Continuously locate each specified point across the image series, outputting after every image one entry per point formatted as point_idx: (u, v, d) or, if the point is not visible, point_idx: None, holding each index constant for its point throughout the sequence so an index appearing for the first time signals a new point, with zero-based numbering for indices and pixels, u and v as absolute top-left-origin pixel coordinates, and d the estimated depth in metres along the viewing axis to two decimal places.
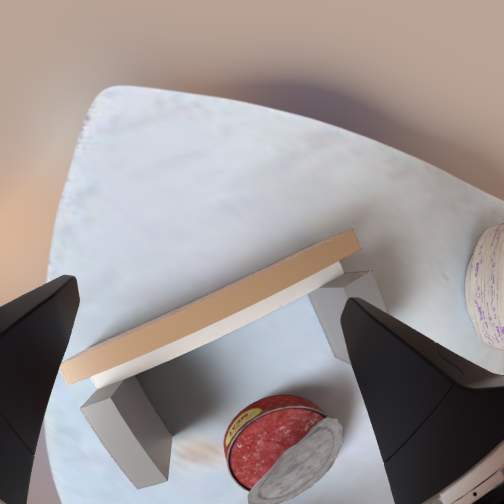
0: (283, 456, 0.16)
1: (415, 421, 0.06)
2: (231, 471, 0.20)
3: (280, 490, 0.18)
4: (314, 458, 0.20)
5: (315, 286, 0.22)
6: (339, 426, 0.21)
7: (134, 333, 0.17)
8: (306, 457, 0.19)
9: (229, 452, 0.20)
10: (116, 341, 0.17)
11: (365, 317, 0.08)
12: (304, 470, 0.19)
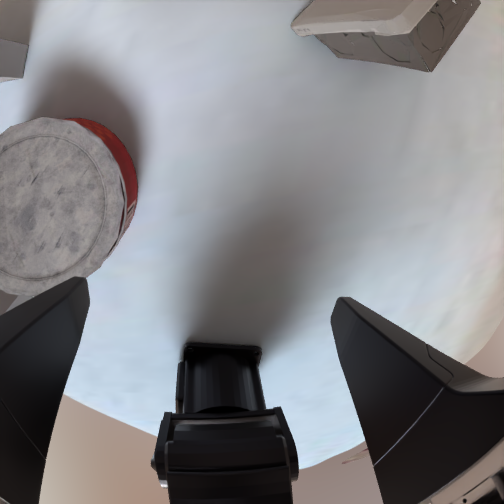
0: None
1: (404, 424, 0.06)
2: None
3: (63, 249, 0.14)
4: (50, 178, 0.13)
5: None
6: (33, 123, 0.12)
7: None
8: (31, 190, 0.12)
9: None
10: None
11: (354, 317, 0.08)
12: (58, 201, 0.13)
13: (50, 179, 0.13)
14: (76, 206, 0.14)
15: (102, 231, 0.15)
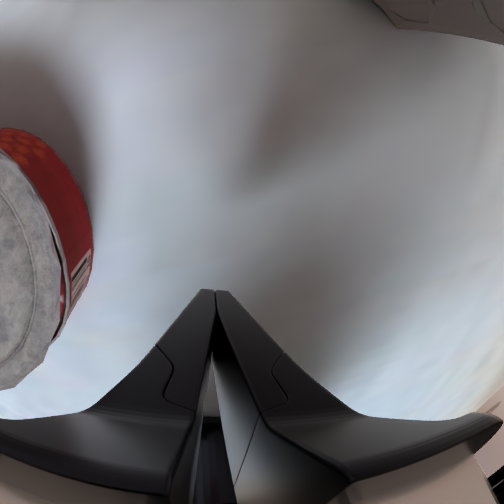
0: None
1: None
2: None
3: None
4: None
5: None
6: None
7: None
8: None
9: None
10: None
11: (216, 313, 0.08)
12: None
13: None
14: None
15: (36, 312, 0.08)
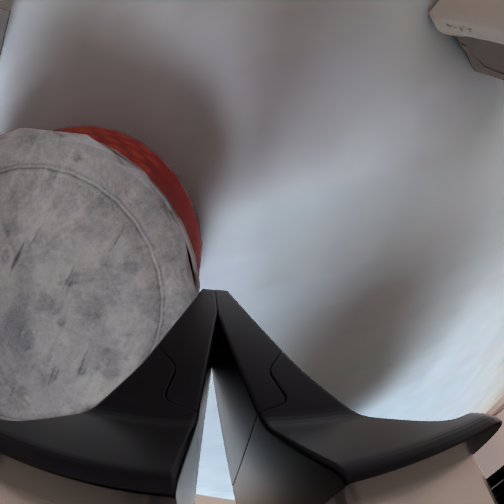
0: None
1: None
2: None
3: (93, 375, 0.08)
4: (47, 255, 0.07)
5: None
6: (3, 141, 0.05)
7: None
8: (14, 280, 0.06)
9: None
10: None
11: None
12: (69, 299, 0.07)
13: (47, 257, 0.07)
14: (106, 305, 0.08)
15: (159, 341, 0.09)
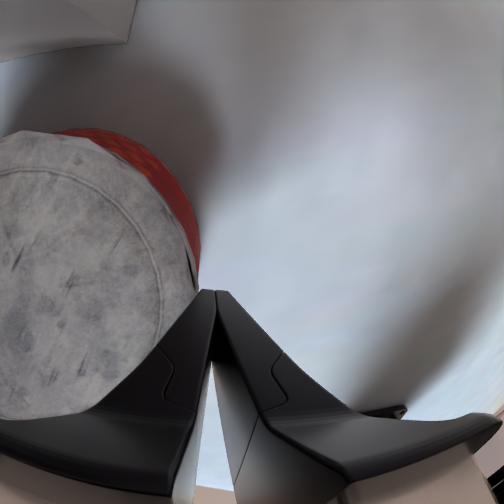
0: None
1: None
2: None
3: (92, 377, 0.08)
4: (47, 258, 0.07)
5: None
6: (4, 144, 0.05)
7: None
8: (15, 281, 0.06)
9: None
10: None
11: (215, 313, 0.08)
12: (70, 301, 0.07)
13: (48, 259, 0.07)
14: (106, 308, 0.08)
15: None
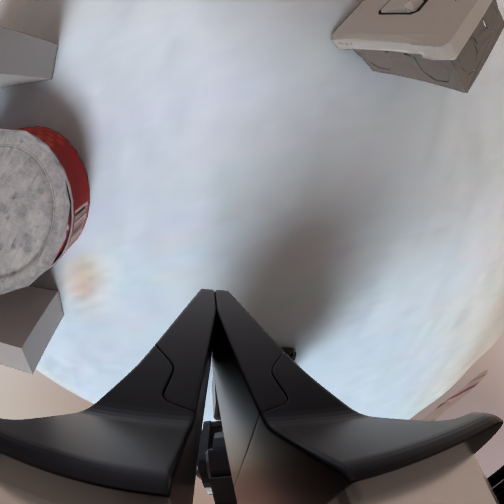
0: None
1: None
2: None
3: (18, 249, 0.14)
4: (5, 185, 0.12)
5: None
6: None
7: None
8: None
9: None
10: None
11: (216, 313, 0.08)
12: (12, 206, 0.13)
13: (5, 185, 0.12)
14: (28, 209, 0.14)
15: (51, 232, 0.15)
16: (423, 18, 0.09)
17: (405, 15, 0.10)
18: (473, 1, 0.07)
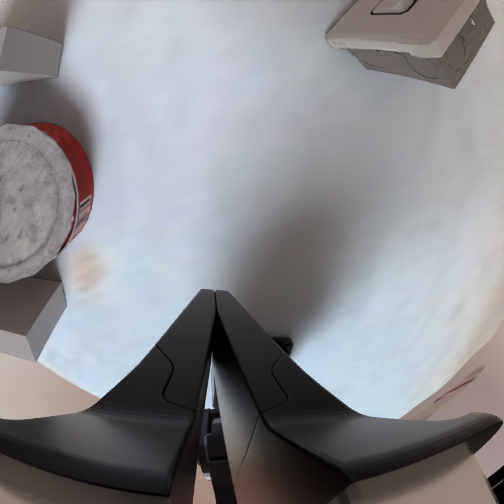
0: None
1: None
2: None
3: (24, 239, 0.14)
4: (13, 177, 0.13)
5: None
6: None
7: None
8: None
9: None
10: None
11: (216, 313, 0.08)
12: (19, 197, 0.14)
13: (13, 178, 0.13)
14: (34, 201, 0.14)
15: (57, 223, 0.15)
16: (412, 18, 0.10)
17: (395, 15, 0.11)
18: (460, 1, 0.08)
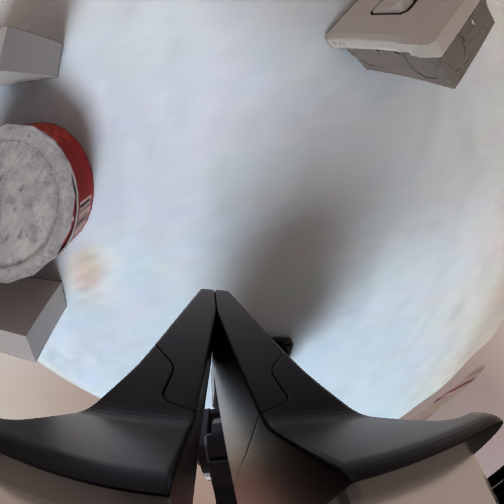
0: None
1: None
2: None
3: (24, 239, 0.14)
4: (13, 177, 0.13)
5: None
6: None
7: None
8: None
9: None
10: None
11: (216, 313, 0.08)
12: (19, 197, 0.14)
13: (13, 178, 0.13)
14: (34, 201, 0.14)
15: (57, 223, 0.15)
16: (412, 18, 0.10)
17: (395, 15, 0.11)
18: (460, 1, 0.08)
